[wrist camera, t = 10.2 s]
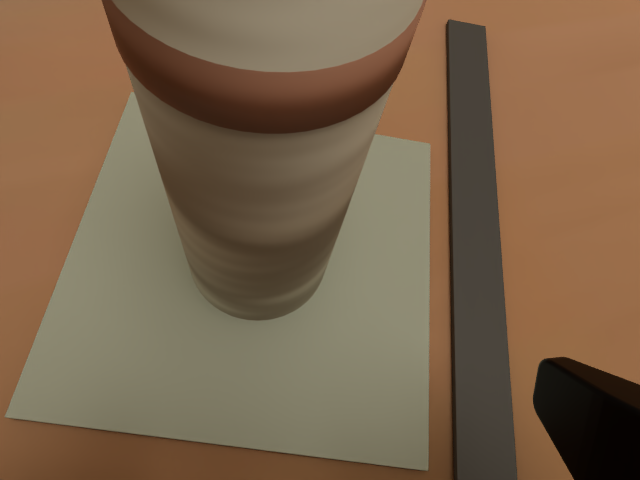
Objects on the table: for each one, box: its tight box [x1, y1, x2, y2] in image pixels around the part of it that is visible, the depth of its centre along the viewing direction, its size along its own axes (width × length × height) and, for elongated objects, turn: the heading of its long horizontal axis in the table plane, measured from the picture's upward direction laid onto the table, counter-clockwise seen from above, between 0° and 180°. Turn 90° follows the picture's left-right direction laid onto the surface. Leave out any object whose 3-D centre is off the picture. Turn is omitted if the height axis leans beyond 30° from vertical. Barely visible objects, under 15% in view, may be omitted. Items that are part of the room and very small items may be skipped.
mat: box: [5, 92, 430, 471], centre depth 18 cm, size 13×13×1 cm
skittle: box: [102, 0, 426, 321], centre depth 12 cm, size 5×5×13 cm
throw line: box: [446, 20, 517, 480], centre depth 18 cm, size 30×2×1 cm, turn 174°
